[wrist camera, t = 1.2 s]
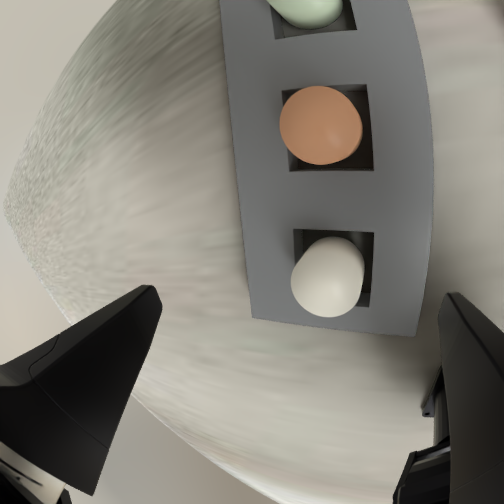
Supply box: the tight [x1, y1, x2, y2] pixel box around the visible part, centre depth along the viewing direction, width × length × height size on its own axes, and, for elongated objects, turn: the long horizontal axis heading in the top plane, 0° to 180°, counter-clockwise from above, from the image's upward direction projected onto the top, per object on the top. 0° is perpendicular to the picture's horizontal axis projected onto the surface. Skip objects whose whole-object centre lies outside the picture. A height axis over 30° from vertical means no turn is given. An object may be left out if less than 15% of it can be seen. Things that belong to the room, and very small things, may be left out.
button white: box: [291, 236, 365, 317], centre depth 17 cm, size 4×4×3 cm
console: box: [219, 0, 434, 337], centre depth 16 cm, size 26×12×2 cm, turn 6°
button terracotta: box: [279, 86, 363, 165], centre depth 14 cm, size 4×4×3 cm
